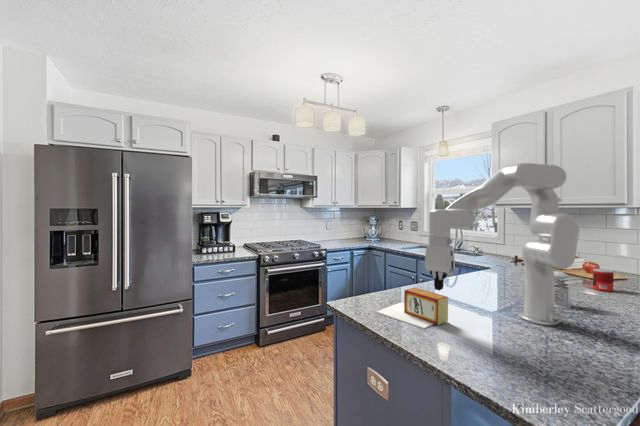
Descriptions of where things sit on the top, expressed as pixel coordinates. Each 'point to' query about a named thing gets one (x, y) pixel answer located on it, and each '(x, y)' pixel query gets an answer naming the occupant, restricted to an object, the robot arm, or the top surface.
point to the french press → (561, 291)
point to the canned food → (603, 280)
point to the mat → (404, 316)
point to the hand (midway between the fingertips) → (438, 289)
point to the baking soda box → (426, 305)
